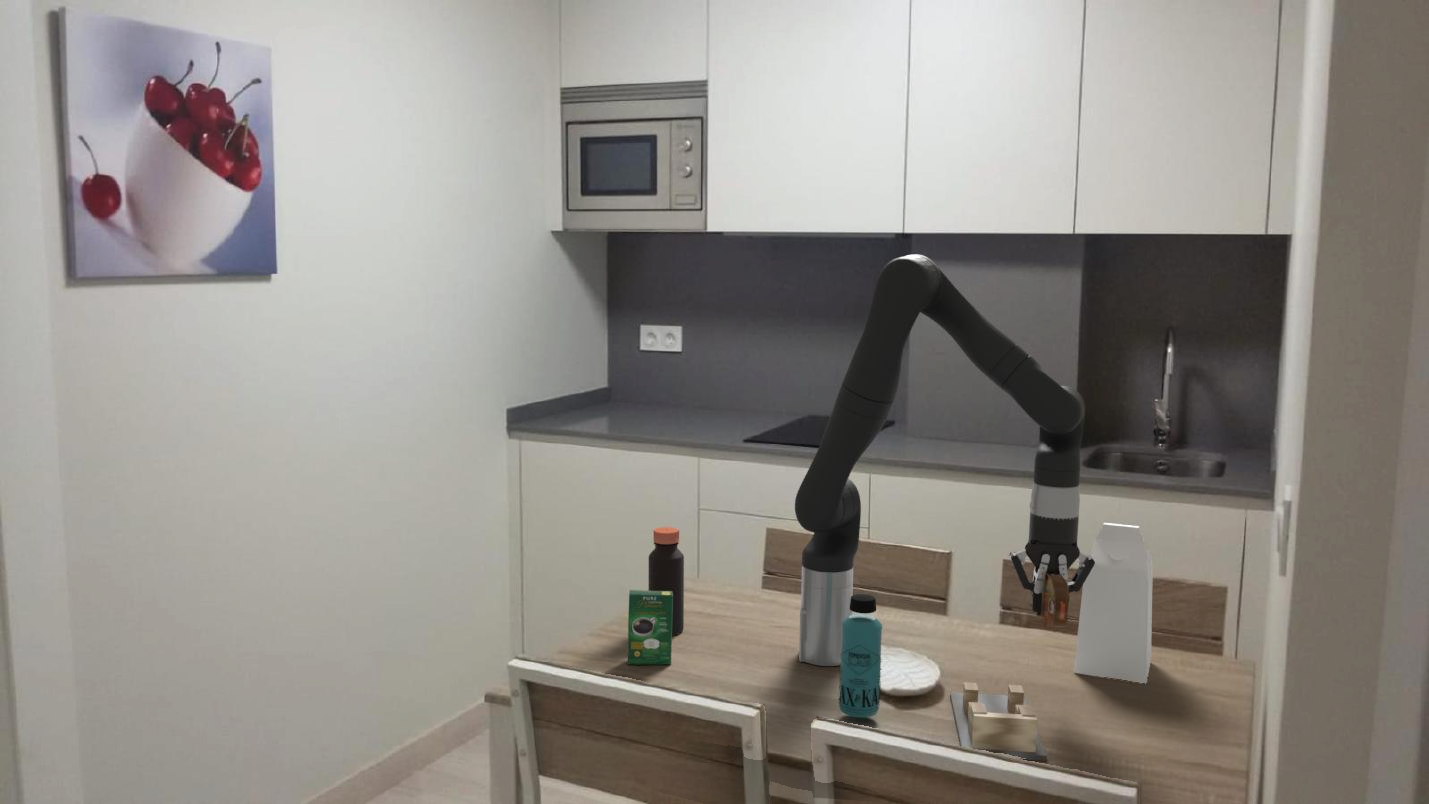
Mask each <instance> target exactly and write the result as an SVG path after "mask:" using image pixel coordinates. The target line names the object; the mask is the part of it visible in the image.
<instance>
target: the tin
mask: <svg viewBox="0 0 1429 804" xmlns="http://www.w3.org/2000/svg"><path fill="white" fill-rule="evenodd" d="M1033 576H1034V570H1033V572H1032V577H1031V581H1033ZM1030 593H1031V594H1032V591H1031V590H1030ZM1041 593H1042V608H1041V616H1039V615H1036V614H1035V612H1033V613H1034V615H1035V616H1036V618H1037V619H1038V620H1039V621H1040V623H1041V624H1042V626H1043V627H1044V628H1045V629H1047V630H1049V629H1050V630H1063V629H1064V628H1065V627H1066V626H1067V624H1068V614H1069V603H1070V593H1069V589H1068V585H1067V582H1066V580H1065V579H1064V578H1063V577H1062V576H1060V575H1059V574H1056V573H1053V572H1052V573H1046V576H1045V580H1044V582H1043V586H1042V591H1041Z"/></svg>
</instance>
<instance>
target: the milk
mask: <svg viewBox="0 0 1429 804" xmlns="http://www.w3.org/2000/svg"><path fill="white" fill-rule="evenodd" d="M1147 545H1148V544H1147V543H1146V539H1145V537H1144V535H1143V533H1142V529H1141V527H1140V525H1129V524H1120V523H1111V522H1103V524H1102V525H1101V528H1100V530H1099V532H1098V534H1097V535H1096V537H1095V540H1094V543H1093V545H1092V549H1091V550H1090V554H1089V555H1090V556H1091V557H1092V558H1093V560H1094V561H1095V564H1094V566H1093V568H1092V570H1091V571H1090V573H1089V575H1088V577H1087V578H1086V580H1085V582H1084V584H1083V585H1082V589H1081V590H1082V591H1081V600H1080V610H1079V618H1078V619H1079V620H1078V628H1077V637H1076V645H1075V646H1076V647H1075V656H1074V666H1073V673H1074V674H1079V675H1085V676H1090V677H1091V676H1092V677H1097V676H1098V678H1104V677H1111V678H1117V679H1122V680H1121V681H1123V680H1128V681H1127V682H1129V681H1134V682H1133V683H1135V682H1140V683H1139V684H1142V683H1145V684H1144V685H1147V684H1146V683H1148V679H1147V677H1149V674H1148V673H1150V669H1149V668H1151V665H1150V663H1152V627H1153V625H1152V624H1153V623H1152V621H1153V619H1152V618H1153V573H1154V572H1153V570H1154V568H1153V559H1152V556H1151V552H1150V551H1149V548H1148V546H1147Z"/></svg>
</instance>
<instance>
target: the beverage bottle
mask: <svg viewBox="0 0 1429 804" xmlns="http://www.w3.org/2000/svg"><path fill="white" fill-rule="evenodd" d="M850 610H851V611H852V615H850V616H849V617H847V618H846V619H845V620H844V621H843V622H842V649H841V655H840V656H841V657H840V658H841V665H840V666H839V681H838V682H839V684H838V690H839V696H838V702H837V703H838V706H839V711H841V712H842V713H843V714H844V715H847V716H849V717H853V718H869V717H873V716H876V715H877V714H878V711H879V709H880V704H881V689H882V687H881V686H882V683H881V680H882V673H881V671H882V666H881V663H882V662H883V659H882V635H883V634H882V633H883V632H882V630H883V624H882V623H881V621H880V620H878V618H876V617H875V616H874V615H872V613H875V612H877V599H876V597H875V596H873V595H871V594H867V593H857V594H853V596H851V601H850Z"/></svg>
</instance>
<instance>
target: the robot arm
mask: <svg viewBox="0 0 1429 804" xmlns="http://www.w3.org/2000/svg"><path fill="white" fill-rule="evenodd" d="M869 307H870V308H869V312H868V316H867V319H866V322H865V325H864V329H863V332H862V334H861V337H860V339H859V341H858V344H857V346H856V348H855V350H854V353H853V356H852V358H851V360H850V363H849V365H848V368H847V370H846V373H845V374H844V378H843V380H842V382H841V385H840V388H839V391H838V393H837V396H836V399H835V403H834V406H833V408H832V411H831V415H830V417H829V418H828V422H827V425H826V427H825V429H824V432H823V436H822V438H821V441H820V443H819V446H818V449H817V452H816V453H815V454H814V455H815V456H814V458H813V460H812V462H811V464H810V465H809V467H808V469H807V472H806V474H805V475H804V477H803V480H802V481H801V484H800V486H799V488H798V490H797V493H796V496H795V499H794V500H795V501H794V513H795V517H796V520H797V522H798V523H799V525H800V526H801V527H802V528H803V529H804V530H806V531H808V532H810V533H813V535H812V537H811V539H810V541H809V542H808V543H807V544H806V545H805V547H804V548H803V549H802V554H801V588H800V589H801V591H800V594H801V595H800V596H801V597H800V611H799V613H800V614H799V650H798V651H799V652H798V653H799V658H798V659H799V660H798V661H799V662H802V663H807V664H811V665H813V666H814V665H815V666H821V667H835V666H837V667H838V666H841V658H840V657H841V656H840V655H841V649H842V622H843V621H844V620H845V619H846V618H847V617H849V616H850V615H852V614H853V611H851V610H850V601H851V596H853V595H854V594H853V592H854V591H853V588H854V587H853V585H854V581H853V580H854V561H855V556H856V554H857V551H858V548H859V544H860V543H859V542H860V533H861V532H860V530H861V529H860V528H861V517H862V504H861V496H860V493H859V489H858V488H857V486H856V484H855V483H854V481H852V480H851V479H850V475H851V473H852V471H853V469H854V467H855V465H856V463H857V462H858V460H860V458H861V457H862V456H863V454H864V453H865V452H866V450H867V449H868V448H869V447H870V445H871V444H872V443H873V442H874V440H875V439H876V437H878V435H879V433H880V432H881V430H882V428H883V427H884V425H885V423H886V421H887V419H888V416H889V414H890V412H891V408H892V406H893V403H894V401H895V398H896V395H897V392H898V389H899V384H900V376H901V371H902V370H901V369H902V361H903V354H904V349H905V346H906V342H907V340H908V338H909V335H910V333H911V331H912V328H913V327H914V325H915V322H916V320H917V318H918V316H919V315H920V313H921V314H923V315H924V316H926V317H927V318H929V319H930V320H932V321H933V322H934V323H936V324H937V325H938V326H939V327H941V328H942V329H943V330H944V331H945V332H947V334H948V335H949V336H950V337H951V338H952V339H953V340H954V341H955V342H956V344H957V345H958V347H959V348H960V349H961V350H962V352H963V353H964V354H965V356H966V357H967V358H968V359H969V361H971V363H973V365H974V366H975V367H976V368H977V369H978V370H979V371H980V372H981V373H983V374H984V376H985V377H986V378H988V379H989V380H991V381H992V383H994V384H995V385H996V386H997V387H998V388H1000V389H1001V390H1002V391H1004V392H1005V393H1006V394H1008V395H1009V396H1010V397H1011V398H1012V399H1013V400H1014V402H1015V403H1017V405H1018V406H1019V407H1020V408H1021V409H1022V410H1023V411H1024V413H1026V415H1028V417H1030V419H1032V421H1034V422H1035V424H1037V425H1038V426H1039V435H1038V436H1039V437H1038V446H1037V447H1038V448H1037V450H1036V452H1035V457H1034V467H1033V469H1034V470H1033V482H1032V488H1031V495H1030V502H1029V525H1028V526H1029V527H1028V528H1029V529H1028V540H1027V543H1026V544H1025V547H1024V549H1022V550H1020V551H1017V552H1015V551H1011V552H1009V558H1010V561H1011V563H1012V566H1013V568H1014V571H1015V572H1016V575H1017V577H1018V579H1019V582H1020V584H1021V586H1022V588H1023V589H1025V590H1029V591H1030V592H1031V591H1032V594H1031V595H1030V607H1031V609H1032V613H1034V612H1035V613H1034V615H1035V614H1036V615H1039V616H1041V608H1042V593H1041V591H1042V586H1043V582H1044V580H1045V576H1046V573H1052V572H1053V573H1056V574H1059V575H1060V576H1062V577H1063V578H1064V579H1065V580H1066V582H1067V585H1068V589H1069V594H1071V593H1074V592H1076V593H1078V592H1080V591H1081V590H1082V589H1081V588H1083V584H1084V582H1085V580H1086V578H1087V577H1088V575H1089V573H1090V571H1091V570H1092V568H1093V566H1094V564H1095V561H1094V560H1093V558H1092V557H1091V556H1090V554H1089V555H1088V554H1087V555H1086V554H1085V553H1082V552H1080V548H1079V547H1078V534H1079V519H1080V517H1079V516H1080V505H1081V504H1080V501H1081V499H1080V498H1081V497H1080V475H1081V445H1082V439H1083V434H1084V433H1083V432H1084V424H1085V416H1086V405H1085V402H1084V398H1083V397H1082V395H1081V394H1080V393H1079V392H1078V391H1077V390H1076V389H1075V388H1074V387H1073V388H1072V387H1071V386H1070V387H1069V386H1068V385H1067V386H1066V385H1060V383H1058V382H1057V381H1055V380H1054V379H1053V378H1052V377H1051V376H1049V375H1048V374H1047V373H1046V372H1045V370H1043V369H1042V366H1041V365H1040V363H1039V362H1038V361H1037V360H1036V359H1035V358H1034V357H1033V356H1032V355H1031V354H1030V353H1028V352H1027V351H1026V350H1025V349H1024V348H1022V347H1021V346H1020V345H1019V344H1017V343H1016V341H1014V340H1012V339H1011V338H1010V337H1009V336H1008V335H1007V334H1005V333H1004V332H1003V331H1002V330H1001V329H999V328H998V327H997V326H996V325H995V324H994V323H993V322H992V321H990V320H989V319H988V318H987V317H986V316H985V315H983V314H982V313H981V312H980V310H978V309H977V308H976V307H975V306H974V305H973V304H972V303H971V302H970V301H969V300H968V299H967V298H966V297H965V296H964V295H963V294H962V293H961V292H960V291H959V290H958V289H957V287H956V286H955V285H954V283H952V281H951V280H950V279H949V278H948V277H947V275H946V274H945V273H944V271H942V269H940V267H939V266H938V265H937V264H936V263H935V262H934V261H933V260H932V259H931V258H929V257H927V256H925V255H923V254H917V253H915V254H912V253H911V254H908V255H904V256H900V257H896V258H893V259H892V260H891V261H889V262H888V263H887V264H885V265H884V267H883V268H882V269H881V271H880V272H879V275H878V278H877V280H876V283H875V287H874V291H873V296H872V299H871V304H870V306H869ZM1026 557H1028V558H1029V560H1030V562H1031V563H1032V565H1033V566H1034V569H1033V571H1034V576H1033V575H1032V576H1033V581H1032V580H1030V579H1029V578H1028V576H1027V574H1026V572H1025V570H1024V565H1025V564H1026V559H1027V558H1026ZM1076 561H1077V565H1078V567H1077V570H1076V571H1075V573H1074V575H1073V576H1072V578H1071V580H1070V581H1069V575H1068V570H1069V569H1070V567H1071V566H1072V565H1073V564H1074V563H1075V562H1076ZM1036 615H1035V616H1036Z"/></svg>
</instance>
